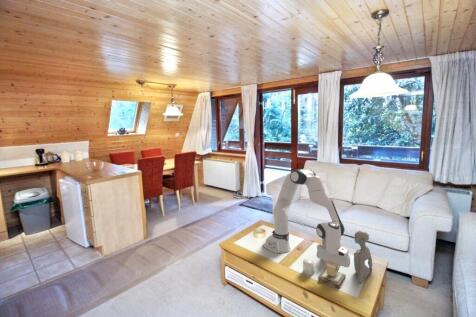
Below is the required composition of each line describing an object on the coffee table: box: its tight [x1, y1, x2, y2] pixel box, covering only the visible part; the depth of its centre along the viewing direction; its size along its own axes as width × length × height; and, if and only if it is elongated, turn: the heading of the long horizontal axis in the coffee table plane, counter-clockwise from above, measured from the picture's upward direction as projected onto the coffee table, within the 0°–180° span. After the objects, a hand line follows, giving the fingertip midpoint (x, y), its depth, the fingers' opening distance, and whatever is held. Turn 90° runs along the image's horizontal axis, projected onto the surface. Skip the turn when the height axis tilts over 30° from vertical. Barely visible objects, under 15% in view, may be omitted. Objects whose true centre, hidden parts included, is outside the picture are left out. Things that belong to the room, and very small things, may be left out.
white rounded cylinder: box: [302, 258, 315, 277], centre depth 163 cm, size 7×7×8 cm
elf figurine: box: [353, 230, 373, 285], centre depth 159 cm, size 23×10×30 cm, turn 135°
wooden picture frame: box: [317, 266, 346, 289], centre depth 156 cm, size 13×13×3 cm
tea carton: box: [326, 261, 339, 277], centre depth 155 cm, size 5×7×8 cm
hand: (332, 268), depth 155 cm, fingers closed on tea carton, 5 cm apart
